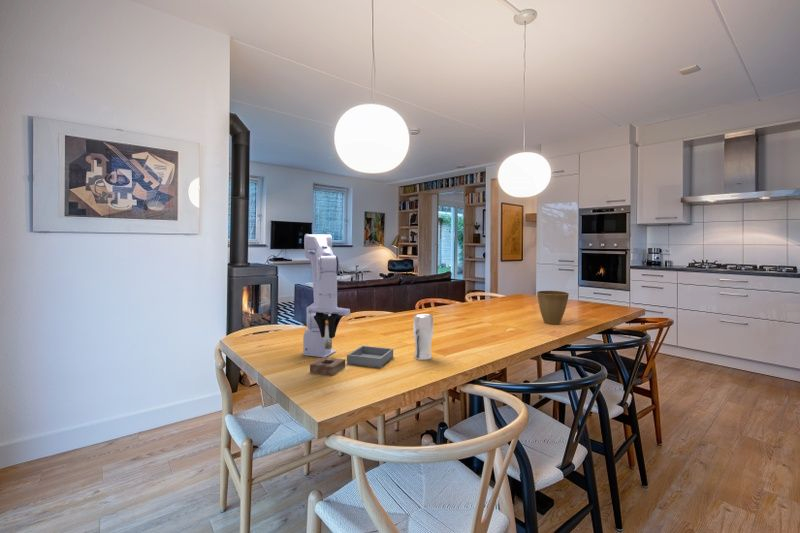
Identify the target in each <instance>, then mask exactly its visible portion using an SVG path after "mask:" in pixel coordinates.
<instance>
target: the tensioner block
mask: <svg viewBox="0 0 800 533" xmlns="http://www.w3.org/2000/svg"><path fill="white" fill-rule="evenodd" d="M345 368H346V359H344V358H337V357H336V358H334V357H329V356H327V357H320V358H319V359H317V360H315V361H314V362H311V363H309V372H310V373H312V374H319V375H327V376H335V375H336V374H337V373H338V372H340V371H342V370H344V369H345Z"/></svg>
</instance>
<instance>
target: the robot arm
mask: <svg viewBox="0 0 800 533" xmlns="http://www.w3.org/2000/svg"><path fill="white" fill-rule="evenodd" d="M303 241H304V242H303V244H304V245H303V246H304V256H305V258H306V259H308V260H309V262H310V264H311V273H312V290H313V303H311V304H310V305H309V306H307V307H306V309H305V310H306V315H305V316H306V329H305V330H304V333H303V339H302V340H303V343H302V344H303V353H301V354H302V356H307V357H308V356H309V357H317V358H318V357H319V358H322V357H329V356H330V355H332V354H334V353H336V352H337V350H336V349H332V348H331V349H325V348H324V319H328V323H329V336H330V338H332V339H333V338H335V337H336V333H337V330H338V326H339V323H340V322H341V319H342V318H343V316H344V317H349V316H350V315H351V309H350V308H344V307H338V274H339V272H340V271H339V270H340V260H339V256H338V255H337V254H336V255H334V252H333V249H332V248H333V237H332V235H331V234H330V233H328V234H320V233H319V234H318V233H317V234H313V233H311V234H309V233H305V234H304V239H303Z"/></svg>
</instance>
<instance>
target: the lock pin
mask: <svg viewBox="0 0 800 533" xmlns="http://www.w3.org/2000/svg"><path fill="white" fill-rule="evenodd" d="M324 348H325V349H331V350H332V348H333V338H330V336H329V323H328V319H324Z"/></svg>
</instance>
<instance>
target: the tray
mask: <svg viewBox="0 0 800 533" xmlns="http://www.w3.org/2000/svg"><path fill="white" fill-rule="evenodd" d="M393 358H394V349H393V348H389V347H388V348H387V347H380V346H379V347H378V346H369V345H361V346H359V347H357V348H356V349H355V350H352V351H350V353H348V354H346V364H347V365H352V366H359V367H369V368H378V369H381V368H382V367H383V366H384V365H386V364H387V363H389V362H390V361H391V360H392V359H393Z"/></svg>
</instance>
